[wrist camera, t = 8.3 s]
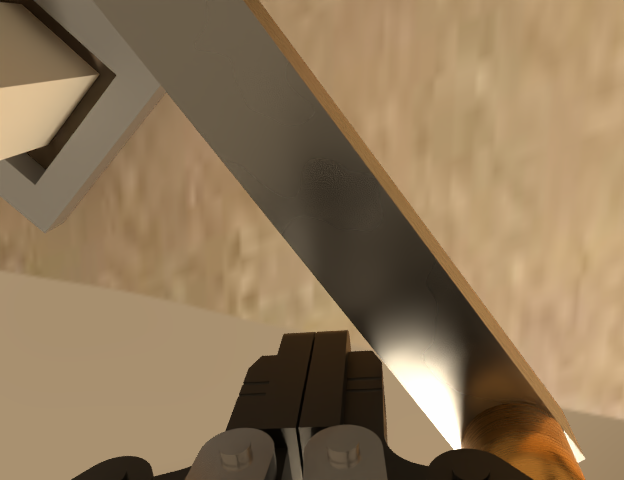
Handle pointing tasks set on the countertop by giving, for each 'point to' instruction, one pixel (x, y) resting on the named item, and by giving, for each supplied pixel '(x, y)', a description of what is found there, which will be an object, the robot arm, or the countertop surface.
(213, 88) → the long flat grey beam
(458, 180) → the countertop surface
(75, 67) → the plug
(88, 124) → the dock
